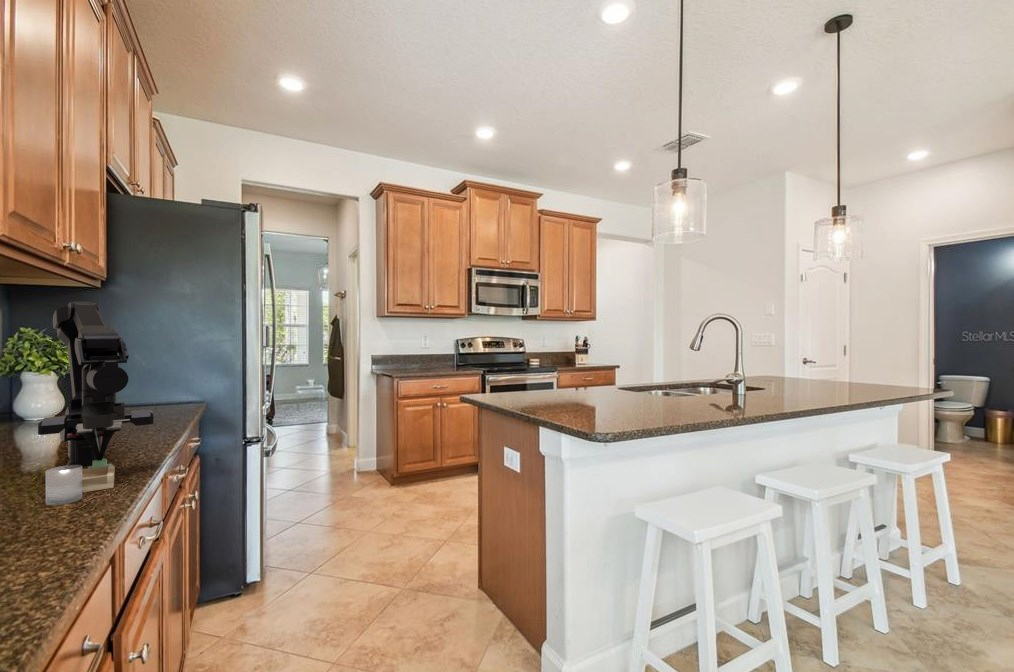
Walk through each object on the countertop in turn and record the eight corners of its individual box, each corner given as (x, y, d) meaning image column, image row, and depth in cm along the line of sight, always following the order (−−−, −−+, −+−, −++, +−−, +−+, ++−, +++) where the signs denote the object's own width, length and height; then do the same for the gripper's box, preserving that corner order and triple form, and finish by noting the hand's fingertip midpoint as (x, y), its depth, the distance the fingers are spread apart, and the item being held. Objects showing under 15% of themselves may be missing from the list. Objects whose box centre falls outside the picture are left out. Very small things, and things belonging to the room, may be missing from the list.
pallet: (57, 484, 96) (57, 472, 96) (114, 476, 102) (114, 465, 102) (51, 497, 89) (51, 484, 89) (113, 487, 95) (113, 475, 95)
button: (92, 473, 102) (92, 459, 102) (107, 471, 104) (107, 458, 104) (92, 476, 101) (92, 462, 101) (106, 474, 102) (106, 460, 102)
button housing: (88, 474, 103) (88, 466, 103) (112, 471, 105) (112, 463, 105) (87, 479, 99) (87, 471, 99) (111, 475, 102) (111, 467, 102)
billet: (47, 499, 88) (47, 468, 88) (83, 493, 91) (83, 463, 91) (43, 507, 84) (43, 474, 84) (81, 501, 87) (81, 469, 87)
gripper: (33, 397, 90) (33, 477, 90) (154, 390, 102) (154, 461, 102) (41, 391, 99) (42, 464, 99) (152, 385, 110) (152, 450, 111)
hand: (99, 460), depth 102 cm, fingers closed, pressing on button
